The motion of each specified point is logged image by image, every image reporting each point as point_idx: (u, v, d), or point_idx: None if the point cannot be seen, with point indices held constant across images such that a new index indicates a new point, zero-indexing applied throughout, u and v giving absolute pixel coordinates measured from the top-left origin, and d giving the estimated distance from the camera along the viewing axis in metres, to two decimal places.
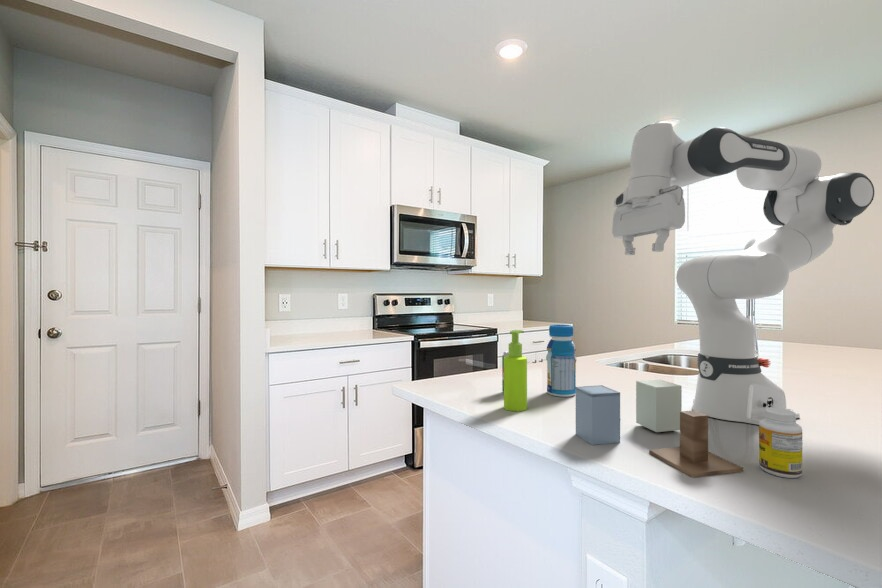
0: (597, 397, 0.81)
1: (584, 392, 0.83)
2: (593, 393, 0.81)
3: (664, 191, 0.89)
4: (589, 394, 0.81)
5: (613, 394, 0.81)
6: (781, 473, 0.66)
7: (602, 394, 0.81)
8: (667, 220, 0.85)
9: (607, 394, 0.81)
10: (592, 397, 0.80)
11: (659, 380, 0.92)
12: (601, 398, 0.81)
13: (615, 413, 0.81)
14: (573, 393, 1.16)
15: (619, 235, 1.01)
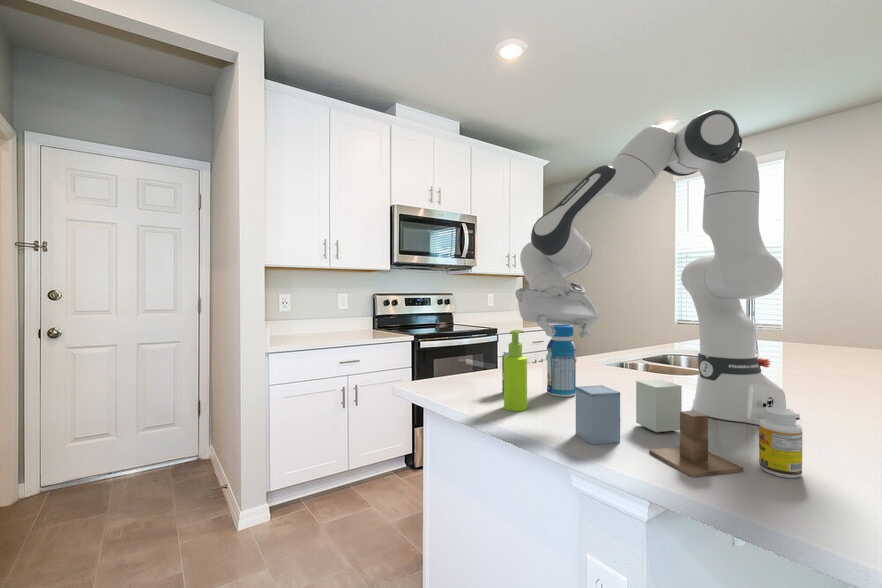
0: (597, 397, 0.81)
1: (584, 392, 0.83)
2: (593, 393, 0.81)
3: None
4: (589, 394, 0.81)
5: (613, 394, 0.81)
6: (781, 473, 0.66)
7: (602, 394, 0.81)
8: None
9: (607, 394, 0.81)
10: (592, 397, 0.80)
11: (659, 380, 0.92)
12: (601, 398, 0.81)
13: (615, 413, 0.81)
14: (573, 393, 1.16)
15: None
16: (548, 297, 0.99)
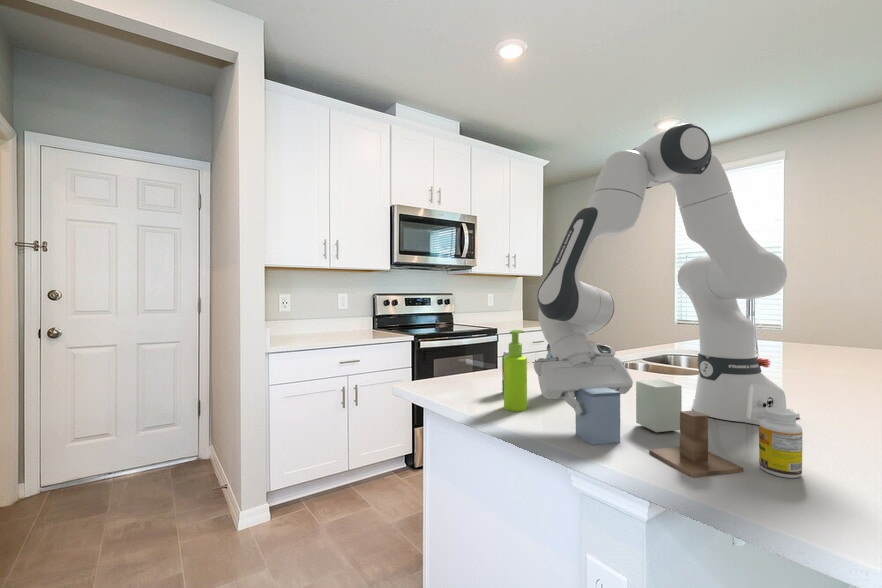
0: (597, 397, 0.81)
1: (584, 392, 0.83)
2: (593, 393, 0.81)
3: None
4: (589, 394, 0.81)
5: (613, 394, 0.81)
6: (781, 473, 0.66)
7: (602, 394, 0.81)
8: None
9: (607, 394, 0.81)
10: (592, 397, 0.80)
11: (659, 380, 0.92)
12: (601, 398, 0.81)
13: (615, 414, 0.81)
14: None
15: None
16: (571, 367, 0.89)
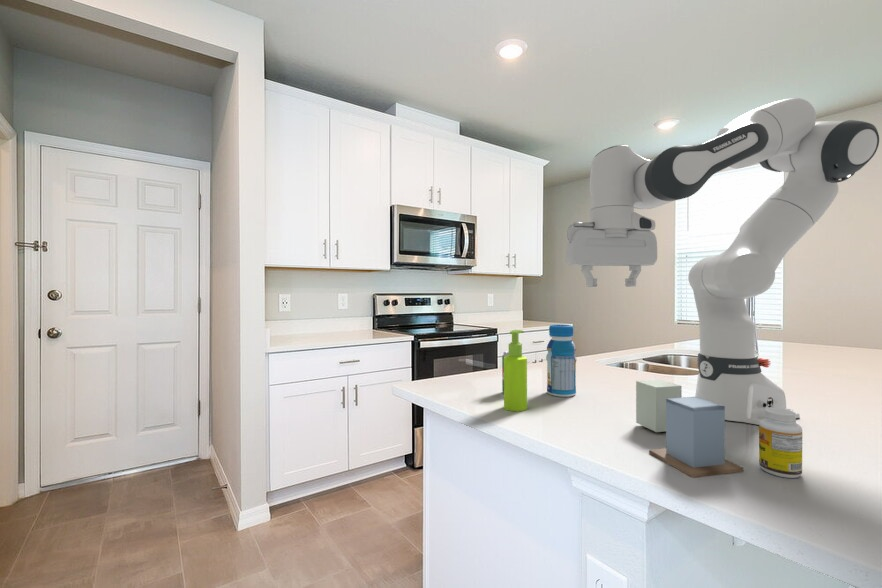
0: (699, 412, 0.69)
1: (681, 405, 0.71)
2: (694, 407, 0.69)
3: None
4: (689, 408, 0.69)
5: (717, 408, 0.69)
6: (781, 473, 0.66)
7: (705, 408, 0.69)
8: None
9: (710, 408, 0.69)
10: (693, 411, 0.69)
11: (659, 380, 0.92)
12: (704, 413, 0.69)
13: (719, 431, 0.70)
14: (573, 393, 1.16)
15: None
16: (604, 238, 0.86)
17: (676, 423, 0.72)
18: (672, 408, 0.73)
